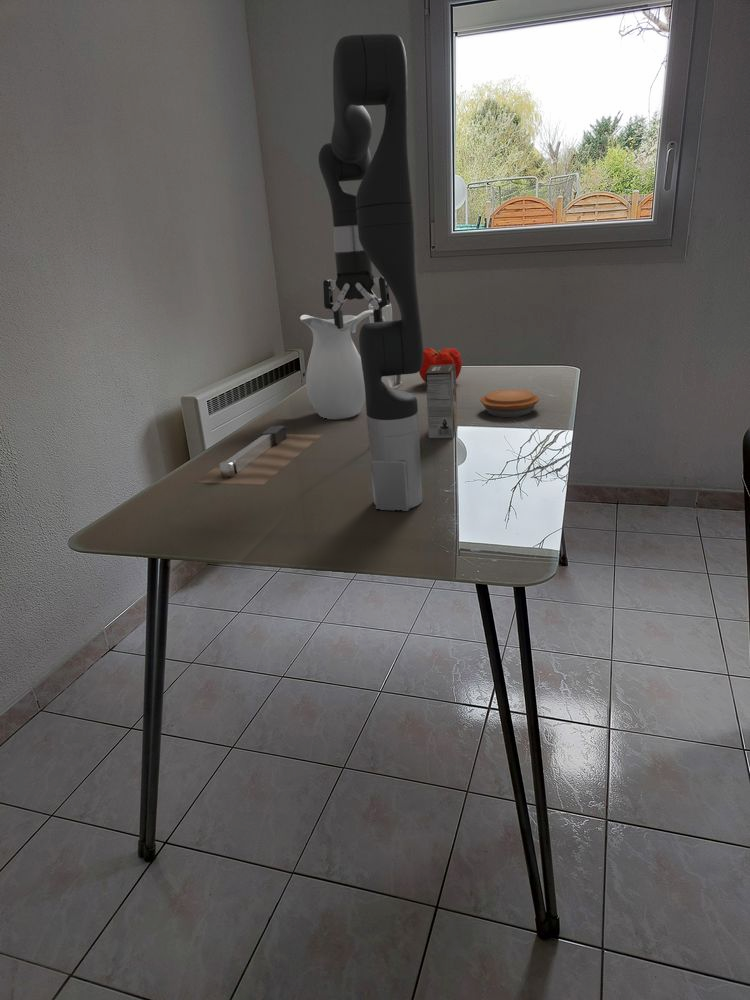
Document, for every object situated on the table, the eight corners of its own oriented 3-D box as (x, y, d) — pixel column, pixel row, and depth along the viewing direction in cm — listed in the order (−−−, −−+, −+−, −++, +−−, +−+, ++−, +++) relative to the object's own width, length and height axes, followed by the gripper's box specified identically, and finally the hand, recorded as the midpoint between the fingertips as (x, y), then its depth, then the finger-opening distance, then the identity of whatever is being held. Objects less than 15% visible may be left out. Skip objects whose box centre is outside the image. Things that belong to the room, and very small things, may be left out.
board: (263, 491, 136) (262, 484, 136) (195, 488, 141) (193, 482, 140) (322, 440, 166) (321, 434, 166) (264, 439, 171) (263, 434, 170)
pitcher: (316, 426, 179) (304, 320, 168) (304, 411, 194) (293, 313, 183) (400, 413, 184) (394, 309, 174) (383, 400, 200) (376, 304, 189)
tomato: (415, 389, 209) (413, 352, 205) (425, 379, 222) (424, 343, 217) (457, 389, 205) (456, 351, 201) (465, 379, 218) (464, 342, 213)
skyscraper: (395, 390, 210) (389, 298, 199) (370, 390, 213) (363, 299, 202) (402, 384, 217) (397, 295, 207) (378, 384, 220) (372, 296, 209)
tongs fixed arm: (231, 478, 141) (228, 465, 139) (217, 478, 141) (214, 465, 140) (285, 438, 165) (283, 426, 164) (273, 437, 166) (271, 426, 165)
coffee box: (432, 427, 170) (429, 364, 163) (457, 427, 168) (456, 363, 162) (428, 438, 161) (424, 372, 155) (454, 438, 160) (452, 371, 154)
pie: (510, 401, 188) (510, 383, 186) (551, 411, 176) (552, 392, 174) (468, 412, 181) (467, 394, 179) (508, 423, 168) (508, 404, 167)
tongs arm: (240, 472, 143) (238, 459, 142) (233, 472, 144) (230, 459, 143) (286, 437, 165) (285, 426, 164) (279, 437, 166) (278, 425, 165)
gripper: (314, 252, 139) (322, 331, 145) (379, 247, 135) (385, 329, 141) (326, 250, 145) (334, 326, 151) (389, 245, 141) (394, 324, 147)
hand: (358, 327), depth 146 cm, fingers open, 8 cm apart
